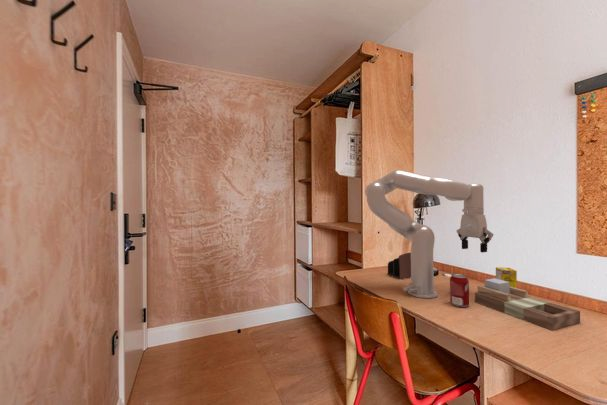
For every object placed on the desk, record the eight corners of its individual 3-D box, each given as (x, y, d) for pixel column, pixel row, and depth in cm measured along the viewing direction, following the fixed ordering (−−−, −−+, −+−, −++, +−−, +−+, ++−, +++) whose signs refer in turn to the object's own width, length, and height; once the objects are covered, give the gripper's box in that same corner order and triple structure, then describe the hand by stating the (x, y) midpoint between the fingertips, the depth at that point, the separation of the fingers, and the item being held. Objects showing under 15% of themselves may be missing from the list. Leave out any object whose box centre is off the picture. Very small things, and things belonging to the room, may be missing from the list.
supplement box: (517, 295, 120) (517, 270, 120) (502, 294, 121) (501, 270, 121) (510, 290, 126) (509, 267, 126) (495, 290, 127) (495, 267, 127)
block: (499, 296, 108) (499, 283, 108) (484, 291, 114) (484, 279, 114) (509, 294, 110) (509, 282, 110) (494, 289, 116) (494, 278, 116)
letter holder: (426, 275, 155) (426, 251, 155) (400, 280, 147) (399, 254, 147) (413, 271, 164) (412, 248, 164) (387, 275, 156) (387, 251, 156)
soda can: (462, 309, 106) (462, 278, 106) (446, 303, 112) (446, 274, 112) (473, 306, 109) (472, 276, 109) (456, 300, 115) (456, 272, 115)
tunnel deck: (552, 330, 88) (552, 310, 88) (474, 301, 113) (474, 286, 113) (580, 322, 93) (579, 303, 93) (499, 297, 118) (499, 282, 118)
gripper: (450, 211, 128) (451, 248, 128) (486, 212, 112) (486, 254, 112) (462, 211, 131) (463, 246, 131) (499, 212, 114) (499, 253, 114)
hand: (474, 250), depth 121 cm, fingers open, 8 cm apart
